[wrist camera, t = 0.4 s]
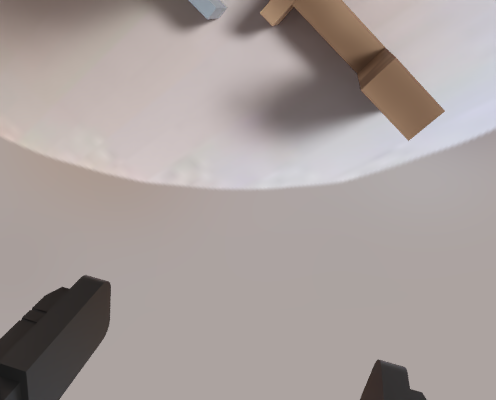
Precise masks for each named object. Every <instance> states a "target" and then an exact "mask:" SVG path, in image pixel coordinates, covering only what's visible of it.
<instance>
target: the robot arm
mask: <svg viewBox="0 0 496 400" xmlns="http://www.w3.org/2000/svg"><path fill="white" fill-rule="evenodd" d="M110 296H111V285H110V283H109V282H108V281H105V280H101V279H98V278H94V277H91V276H87V275H85V276H82V277H81V278H80V279H79V280H78V281H77V282H76V283H75V284H74V285H73V286H72V287H71V288H70V289H68V288H64V287H61V288H59V289H57V290H55V291H53V292H51V293H49V294H48V295H46V296H44V297H43V298H42V299H41V300H40V301H39V302H38V303H37V304H36V305H35V306H34V307H33V308H32V310H30V311H29V312H28V313H27V314H26V315H24V316H23V318H22V320H21V321H18V322H17V323H16V324H15V325H14V326H13V327H12V328H11V329H10V330H9V331H8V332H7V333H6V334H5V335H4V336H3V337H2V338H1V339H0V400H59V399H60V398H61V396H62V395H63V394H64V392H65V391H66V389H67V388H68V387H69V385H70V384H71V383H72V381H73V380H74V379H75V377H76V376H77V374H78V373H79V372H80V370H81V369H82V367H83V366H84V365H85V363H86V362H87V361H88V359H89V358H90V357H91V355H92V354H93V353H94V351H95V350H96V348H97V347H98V346H99V344H100V343H101V341H102V340H103V338H104V337H105V335H106V332H107V330H108V327H109V321H110ZM360 400H426V398H425V397H424V395H423V393H422V392H418V391H415V390H411V389H410V386H409V381H408V373H407V370H406V368H405V367H403V366H399V365H396V364H392V363H389V362H385V361H382V360H377V361H376V363H375V365H374V367H373V369H372V372H371V374H370V376H369V379H368V381H367V384H366V386H365V388H364V391H363V393H362V396H361V399H360Z"/></svg>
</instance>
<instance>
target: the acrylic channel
mask: <svg viewBox="0 0 496 400" xmlns="http://www.w3.org/2000/svg"><path fill="white" fill-rule="evenodd" d="M189 1H190V2H191V3H192V4H193V6H194V7H195V8H196V9H197V10H198V11H199V12H200V13H201V14H202V15H203V16H204V17H205V18H206V19H219V17H220V16H221V15H222V14H223V12H224V11H225V10H226V9H227V7H226V6H225V5H224V4H223V3H222V2H221V1H220V0H189Z"/></svg>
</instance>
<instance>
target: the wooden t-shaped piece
mask: <svg viewBox="0 0 496 400" xmlns="http://www.w3.org/2000/svg"><path fill="white" fill-rule="evenodd" d="M294 7H295V8H296V9H297V11H298V12H299V13H300V14H301V15H302V16H303V17H304V18H305V19H306V20H307V21H308V22H309V23H310V24H311V25H312V26H313V28H314V29H315V30H316V31H317V32H318V33H319V34H320V35H321V36H322V37H323V38H324V39H325V40H326V41H327V42H328V43H329V45H330V46H331V47H332V48H333V49H334V50H335V51H336V52H337V53H338V54H339V55H340V56H341V57H342V58H343V59H344V60H345V61H346V63H347V64H348V65H349V66H350V67H351V68H352V69H353V70H354V71H355V72H356V73H357V75H358V80H359V84H360V89H361V91H362V92H363V93H364V94H365V95H366V96H367V97H368V98H369V99H370V101H371V102H372V103H373V104H374V105H375V106H376V107H377V108H378V109H379V110H380V111H381V112H382V113H383V114H384V115H385V116H386V117H387V118H388V120H389V121H390V122H391V123H392V124H393V125H394V126H395V127H396V128H397V129H398V130H399V131H400V132H401V133H402V134H403V135H404V136H405V137H406V139H407V140H408V141H409V140H410V139H411V138H413V137H414V136H415V135H416V134H417V133H419V132H420V131H421V130H422V129H424V128H425V127H426V126H427V125H429V124H430V123H431V122H432V121H433V120H435V119H436V118H437V117H438V116H440V115H441V114H442V113H443V112H444V110H443V108H442V107H441V106H440V105H439V104H438V103H437V102H436V101H435V100H434V99H433V98H432V96H431V95H430V94H429V93H428V92H427V91H426V90H425V89H424V88H423V87H422V86H421V84H420V83H419V82H418V81H417V80H416V79H415V78H414V77H413V76H412V75H411V74H410V72H409V71H408V70H407V69H406V68H405V67H404V66H403V65H402V64H401V63H400V62H399V60H398V59H397V58H396V57H395V56H394V55H393V54H392V53H391V52H389V51H388V50H387V49H386V48H385V47H384V46H383V45H382V43H381V42H380V41H379V40H378V39H377V38H376V37H375V36H374V35H373V34H372V33H371V31H370V30H369V29H368V28H367V27H366V26H365V25H364V24H363V23H362V22H361V21H360V19H359V18H358V17H357V16H356V15H355V14H354V13H353V12H352V11H351V10H350V9H349V7H348V6H347V5H346V4H345V3H344V2H343V1H342V0H270V1H269V3H268V4H267V5H266V6H265V7H264V9H263V10H262V11H261V12H260V14H261V15H262V16H263V17H264V18H265V19H266V20H267V21H268V22H269V23H270V24H271V25H272V26H275V25H279V23H280V22H281V21H282V20H283V19H284V18H285V17H286V15H287V14H288V13H289V12H290V11H291V10H292V9H293V8H294Z"/></svg>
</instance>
